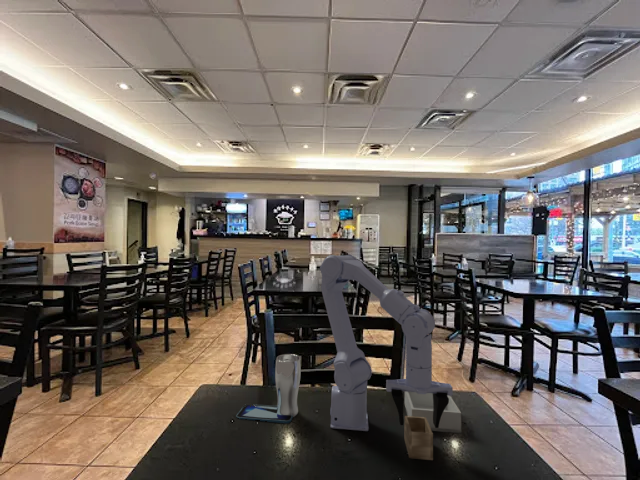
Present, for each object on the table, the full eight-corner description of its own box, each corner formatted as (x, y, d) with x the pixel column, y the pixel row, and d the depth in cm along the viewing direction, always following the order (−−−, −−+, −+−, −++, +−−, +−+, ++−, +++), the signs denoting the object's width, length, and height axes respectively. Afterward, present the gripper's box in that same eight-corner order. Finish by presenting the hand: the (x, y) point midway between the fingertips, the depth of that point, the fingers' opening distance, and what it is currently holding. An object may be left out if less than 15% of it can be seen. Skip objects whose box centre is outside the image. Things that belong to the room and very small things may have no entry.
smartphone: (245, 403, 90) (296, 407, 88) (245, 407, 90) (296, 410, 88) (234, 417, 83) (290, 421, 81) (234, 420, 83) (289, 425, 81)
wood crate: (409, 458, 68) (409, 432, 68) (404, 438, 75) (404, 415, 75) (432, 460, 68) (433, 434, 68) (425, 440, 75) (425, 417, 75)
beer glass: (295, 421, 82) (297, 363, 83) (270, 417, 84) (272, 361, 84) (302, 408, 89) (303, 354, 89) (279, 405, 90) (280, 352, 91)
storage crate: (411, 429, 79) (411, 409, 80) (404, 405, 91) (404, 388, 92) (461, 433, 78) (461, 412, 78) (447, 408, 90) (447, 391, 90)
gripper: (388, 368, 69) (387, 431, 69) (457, 372, 67) (457, 437, 67) (385, 357, 76) (385, 414, 76) (447, 361, 74) (447, 419, 74)
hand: (418, 424), depth 72 cm, fingers open, 7 cm apart
